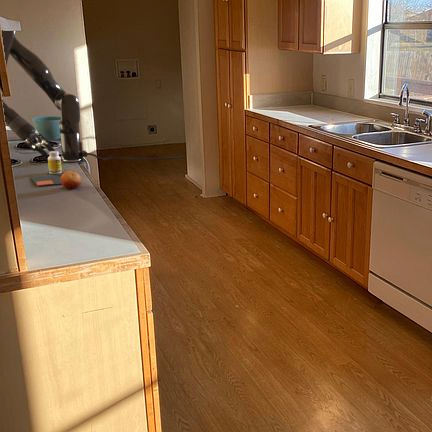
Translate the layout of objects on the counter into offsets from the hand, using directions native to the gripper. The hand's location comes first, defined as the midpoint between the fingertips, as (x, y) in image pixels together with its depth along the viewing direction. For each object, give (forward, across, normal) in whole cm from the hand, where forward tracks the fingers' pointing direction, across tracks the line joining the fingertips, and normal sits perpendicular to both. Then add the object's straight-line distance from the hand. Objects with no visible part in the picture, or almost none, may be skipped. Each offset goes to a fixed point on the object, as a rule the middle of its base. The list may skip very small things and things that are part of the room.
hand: (50, 153), depth 257 cm
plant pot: (-16, +83, +28) cm, 89 cm away
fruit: (+19, -25, -6) cm, 32 cm away
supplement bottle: (+8, 0, +5) cm, 9 cm away
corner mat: (+10, -14, +2) cm, 17 cm away
